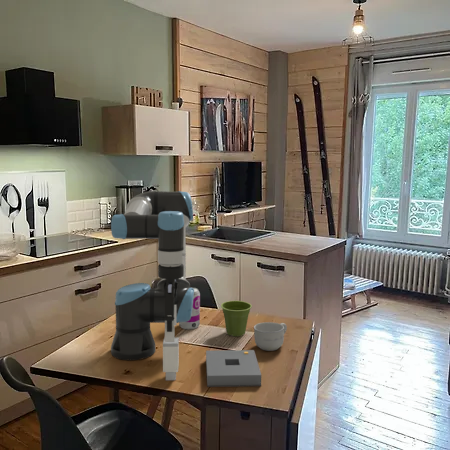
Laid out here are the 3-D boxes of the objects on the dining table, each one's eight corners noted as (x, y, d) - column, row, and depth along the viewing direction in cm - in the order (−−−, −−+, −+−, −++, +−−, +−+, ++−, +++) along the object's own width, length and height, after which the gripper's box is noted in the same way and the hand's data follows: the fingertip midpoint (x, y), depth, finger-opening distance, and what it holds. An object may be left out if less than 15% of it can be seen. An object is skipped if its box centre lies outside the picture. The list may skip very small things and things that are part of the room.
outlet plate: (207, 386, 137) (207, 374, 136) (206, 360, 154) (206, 349, 154) (261, 386, 138) (261, 374, 137) (253, 360, 155) (253, 349, 155)
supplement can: (203, 325, 187) (203, 289, 185) (191, 331, 180) (191, 294, 178) (187, 321, 191) (187, 286, 189) (174, 327, 184) (174, 290, 182)
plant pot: (214, 331, 180) (214, 304, 178) (238, 325, 187) (238, 298, 185) (232, 341, 171) (233, 312, 169) (257, 334, 178) (258, 306, 176)
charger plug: (163, 381, 139) (162, 343, 138) (164, 374, 144) (163, 337, 142) (178, 381, 140) (178, 343, 138) (178, 374, 144) (178, 337, 142)
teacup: (263, 356, 159) (264, 333, 158) (247, 344, 168) (248, 323, 167) (296, 349, 165) (297, 327, 164) (279, 338, 175) (280, 318, 174)
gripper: (182, 273, 125) (182, 349, 127) (184, 255, 149) (184, 318, 152) (154, 273, 124) (154, 349, 127) (161, 255, 149) (161, 319, 152)
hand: (170, 333), depth 139 cm, fingers open, 13 cm apart
